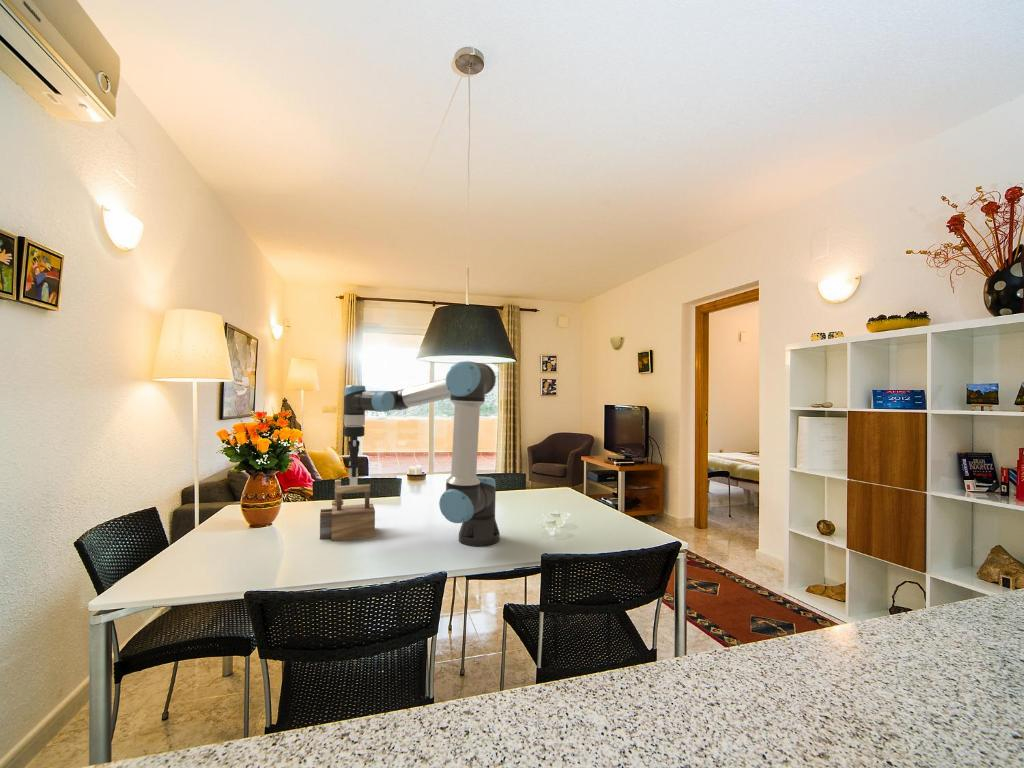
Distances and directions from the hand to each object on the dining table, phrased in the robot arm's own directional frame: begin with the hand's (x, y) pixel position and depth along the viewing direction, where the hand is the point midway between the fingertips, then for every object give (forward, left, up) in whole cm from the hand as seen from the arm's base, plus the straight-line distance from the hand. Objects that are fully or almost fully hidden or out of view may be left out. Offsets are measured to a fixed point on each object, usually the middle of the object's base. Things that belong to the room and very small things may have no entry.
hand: (352, 482), depth 177 cm
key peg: (+23, +5, -20) cm, 30 cm away
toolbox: (0, +2, -20) cm, 20 cm away
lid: (0, +2, -12) cm, 12 cm away
